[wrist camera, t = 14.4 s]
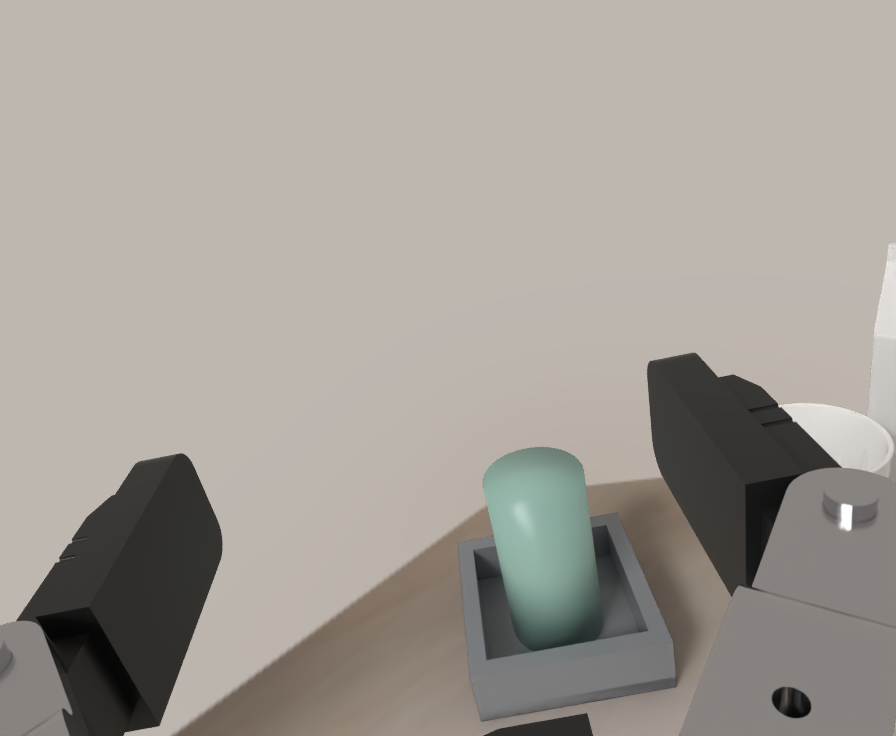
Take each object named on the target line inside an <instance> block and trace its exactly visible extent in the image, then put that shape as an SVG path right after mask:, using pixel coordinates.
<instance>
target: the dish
mask: <svg viewBox="0 0 896 736" xmlns="http://www.w3.org/2000/svg"><path fill="white" fill-rule="evenodd" d="M590 521H591V528H592V536H593V543H594V551H595V558H596V566H597V573H598V581H599V588H600V596H601V603H602V611H603V627H602V630H601V632H600V634H599V636H598V638H597V639H596V640H595V641H590V642H585V643H579V644H574V645H568V646H562V647H557V648H551V649H546V650H540V651H535V652H533V651H531V650H530V649H528V648H527V647H525V646H524V645H523V644H522V643H521V642H520V641H519V639H518V638H517V636H516V634H515V631H514V628H513V623H512V619H511V614H510V609H509V605H508V600H507V595H506V591H505V586H504V581H503V577H502V572H501V567H500V563H499V558H498V554H497V549H496V544H495V540H494V536H491V537H485V538H480V539H475V540H469V541H464V542H459V543H458V553H459V564H460V575H461V586H462V597H463V608H464V619H465V630H466V641H467V653H468V664H469V675H470V681H471V685H472V689H473V692H474V696H475V700H476V704H477V707H478V711H479V715H480V719H481V721H486V720H492V719H498V718H503V717H509V716H515V715H520V714H526V713H531V712H537V711H543V710H548V709H554V708H560V707H565V706H571V705H577V704H582V703H588V702H594V701H599V700H605V699H610V698H616V697H622V696H627V695H633V694H639V693H644V692H650V691H656V690H661V689H667V688H672V687H676V673H675V659H674V646H673V641H672V638H671V636H670V634H669V631H668V629H667V627H666V624H665V622H664V620H663V617H662V615H661V613H660V611H659V608H658V606H657V604H656V601H655V599H654V597H653V594H652V592H651V590H650V587H649V585H648V583H647V581H646V578H645V576H644V574H643V571H642V569H641V567H640V564H639V562H638V560H637V557H636V555H635V553H634V551H633V548H632V546H631V544H630V541H629V539H628V537H627V534H626V532H625V530H624V527H623V525H622V523H621V520H620V518H619V516H618V514H617V513H612V514H607V515H602V516H596V517H591V518H590Z"/></svg>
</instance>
